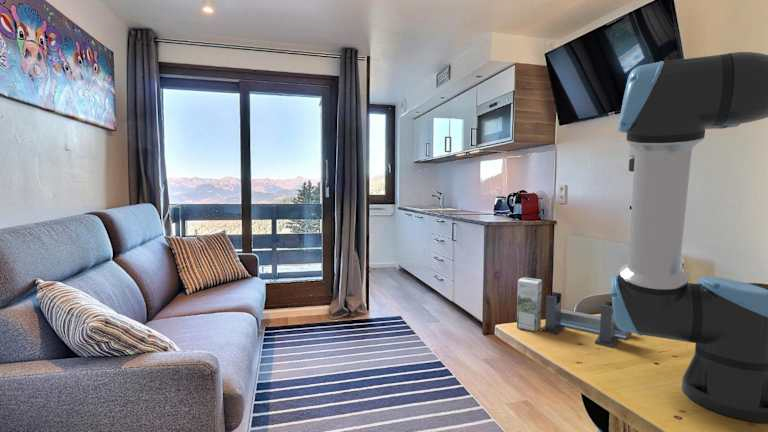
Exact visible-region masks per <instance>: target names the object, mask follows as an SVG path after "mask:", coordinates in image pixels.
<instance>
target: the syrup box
mask: <svg viewBox="0 0 768 432" xmlns="http://www.w3.org/2000/svg"><path fill="white" fill-rule="evenodd" d="M542 288H543V279H539V278H531V277H525V276H524V277H521V278H519V279H518V280H517V298H516V299H517V300H516V301H517V304H516V305H517V306H516V329H519V330H525V331H530V332H535V333H537V332H538V330H539V329H540V327H541V326H542V322H541V320H542V319H541V318H542V317H541V315H542V314H541V313H542V294H543V293H542Z"/></svg>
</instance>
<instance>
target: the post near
mask: <svg viewBox="0 0 768 432" xmlns="http://www.w3.org/2000/svg"><path fill="white" fill-rule="evenodd" d="M604 301H605V303H604V304H601V305H600V316H601V320H600V334H598V337H596V339H595V341H594V343H595V344H596V345H600V346H605V347H607V348H608V347H610V348H615V347H616V345H617V343H618V342H619V341H620V339H619V337H617V336H615V320H614V314H613V305H612V300H604Z"/></svg>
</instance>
